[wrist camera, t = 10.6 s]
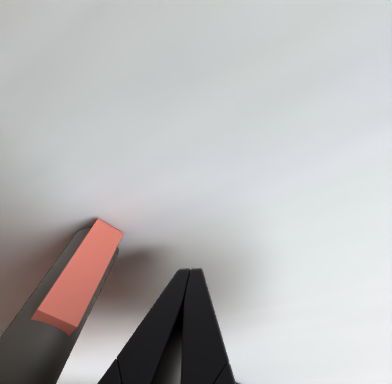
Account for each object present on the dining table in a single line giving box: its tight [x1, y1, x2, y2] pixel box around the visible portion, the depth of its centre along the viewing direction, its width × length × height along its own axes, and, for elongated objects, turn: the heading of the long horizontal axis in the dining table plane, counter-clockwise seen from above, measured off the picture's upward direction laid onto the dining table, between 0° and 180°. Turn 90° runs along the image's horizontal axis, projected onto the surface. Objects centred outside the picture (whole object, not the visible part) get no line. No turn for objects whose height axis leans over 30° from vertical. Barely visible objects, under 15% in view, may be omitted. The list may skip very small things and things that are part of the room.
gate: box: [0, 219, 124, 384], centre depth 12 cm, size 15×2×6 cm, turn 143°
